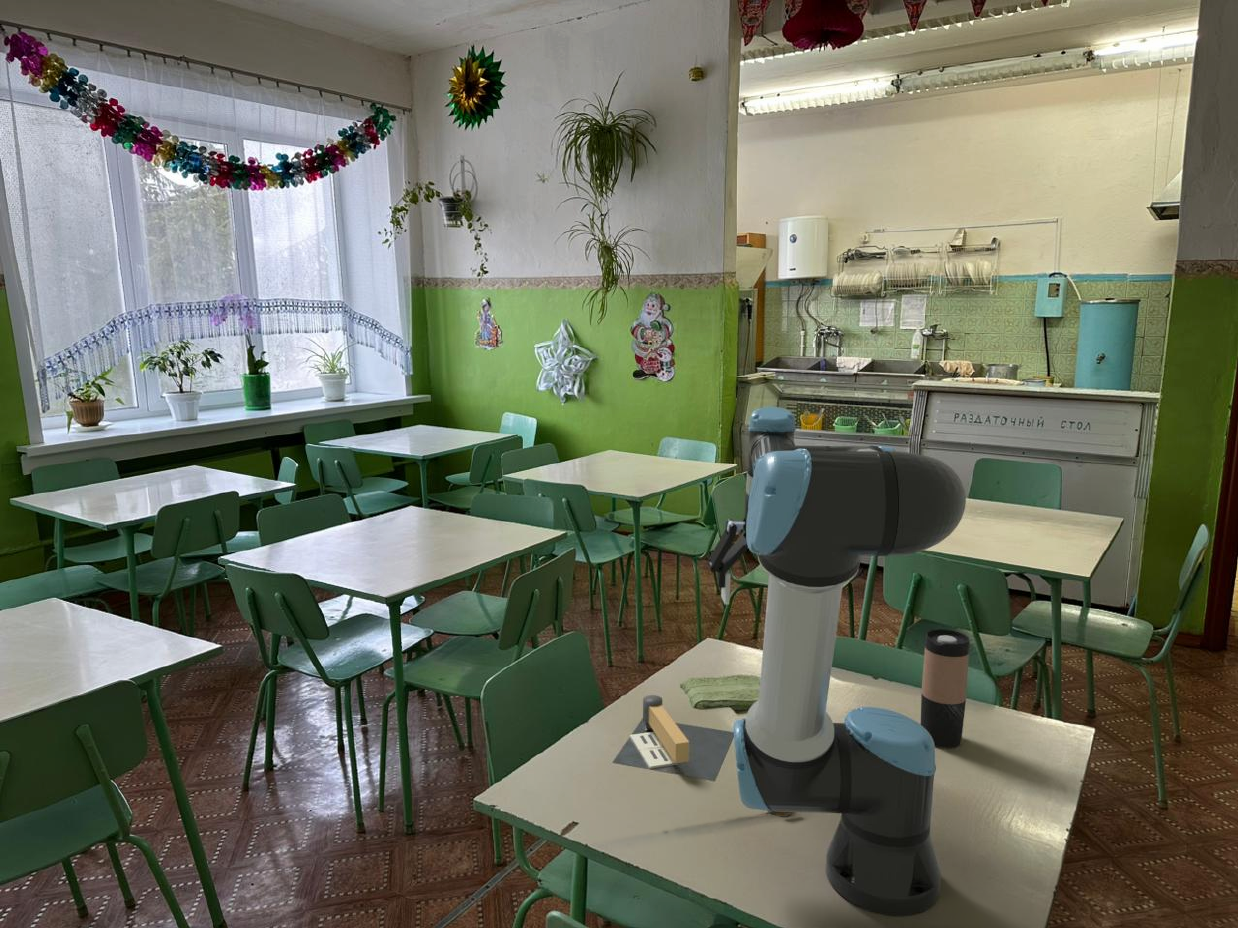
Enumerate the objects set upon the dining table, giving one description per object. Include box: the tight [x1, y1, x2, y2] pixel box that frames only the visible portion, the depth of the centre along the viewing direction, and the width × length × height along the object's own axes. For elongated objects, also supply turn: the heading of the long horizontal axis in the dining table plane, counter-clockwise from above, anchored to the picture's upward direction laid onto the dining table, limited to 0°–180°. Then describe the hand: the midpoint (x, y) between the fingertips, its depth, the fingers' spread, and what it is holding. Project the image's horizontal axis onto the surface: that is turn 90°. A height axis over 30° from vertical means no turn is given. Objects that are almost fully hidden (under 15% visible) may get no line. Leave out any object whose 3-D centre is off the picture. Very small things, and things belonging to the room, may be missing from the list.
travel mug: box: [920, 628, 971, 749], centre depth 153 cm, size 8×8×20 cm
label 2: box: [640, 746, 677, 770], centre depth 146 cm, size 6×5×1 cm
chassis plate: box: [612, 717, 734, 782], centre depth 150 cm, size 18×18×3 cm
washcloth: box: [679, 673, 761, 712], centre depth 172 cm, size 13×18×3 cm
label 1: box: [629, 732, 663, 753], centre depth 151 cm, size 6×5×1 cm
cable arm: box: [642, 694, 689, 763], centre depth 149 cm, size 18×4×4 cm, turn 16°
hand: (760, 596), depth 154 cm, fingers open, 13 cm apart
